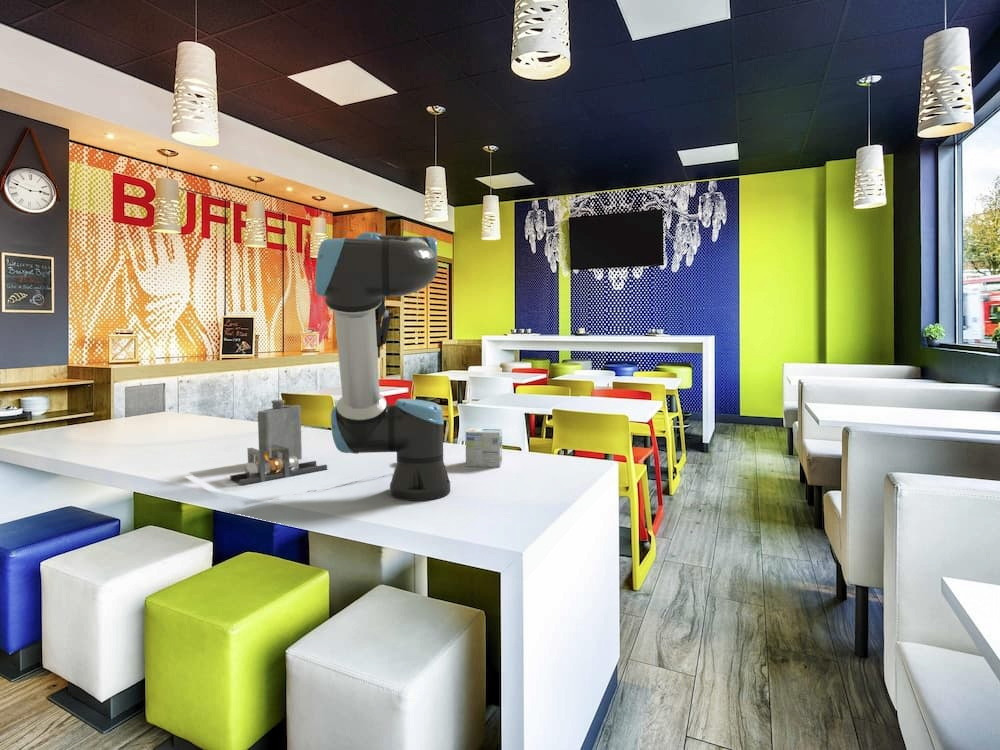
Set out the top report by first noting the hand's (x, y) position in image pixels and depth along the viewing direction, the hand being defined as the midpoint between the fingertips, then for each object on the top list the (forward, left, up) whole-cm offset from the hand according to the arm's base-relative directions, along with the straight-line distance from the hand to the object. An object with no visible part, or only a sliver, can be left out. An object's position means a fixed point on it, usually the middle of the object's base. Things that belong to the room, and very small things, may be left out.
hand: (373, 369), depth 165 cm
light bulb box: (-20, -26, -30) cm, 44 cm away
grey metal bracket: (+8, +28, -28) cm, 41 cm away
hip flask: (+21, +19, -30) cm, 41 cm away
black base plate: (+8, +25, -29) cm, 39 cm away
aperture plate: (+13, +28, -29) cm, 43 cm away
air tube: (+8, +27, -28) cm, 40 cm away
